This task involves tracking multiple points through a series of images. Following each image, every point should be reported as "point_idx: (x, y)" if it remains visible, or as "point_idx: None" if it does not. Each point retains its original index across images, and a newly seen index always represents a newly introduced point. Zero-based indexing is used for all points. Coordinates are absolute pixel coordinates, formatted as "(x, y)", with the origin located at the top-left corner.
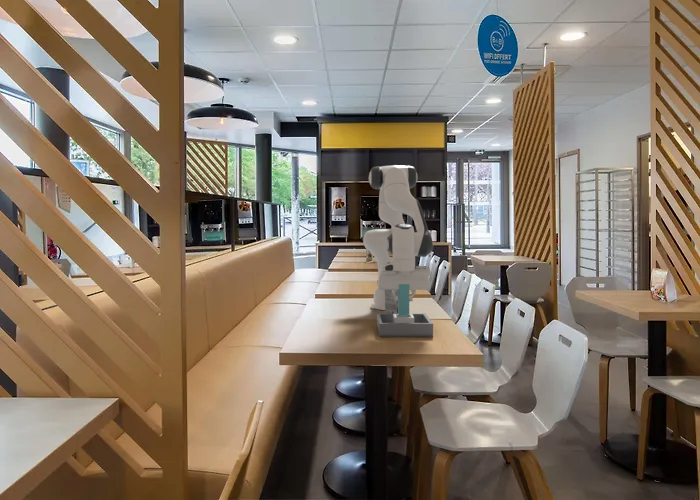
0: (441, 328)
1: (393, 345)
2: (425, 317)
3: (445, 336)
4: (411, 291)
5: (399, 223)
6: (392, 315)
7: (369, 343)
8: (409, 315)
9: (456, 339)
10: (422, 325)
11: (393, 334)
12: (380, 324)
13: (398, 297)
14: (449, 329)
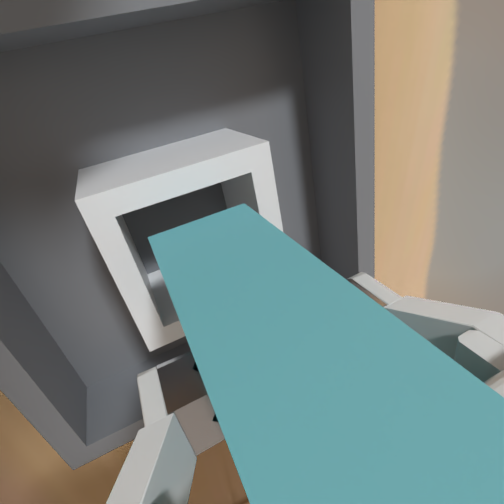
0: (390, 64)
1: None
2: (355, 153)
3: (378, 250)
4: (461, 352)
5: None
6: (8, 37)
7: (79, 496)
8: (244, 171)
9: (404, 280)
10: None
11: None
12: (82, 460)
13: (221, 434)
14: (422, 85)
